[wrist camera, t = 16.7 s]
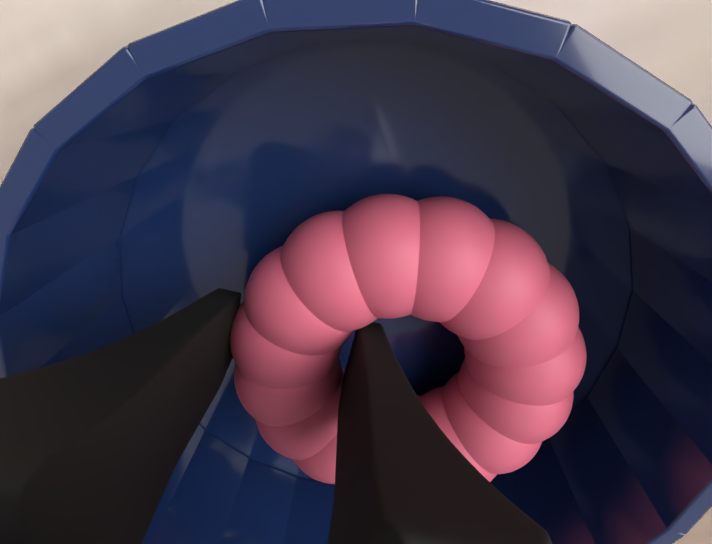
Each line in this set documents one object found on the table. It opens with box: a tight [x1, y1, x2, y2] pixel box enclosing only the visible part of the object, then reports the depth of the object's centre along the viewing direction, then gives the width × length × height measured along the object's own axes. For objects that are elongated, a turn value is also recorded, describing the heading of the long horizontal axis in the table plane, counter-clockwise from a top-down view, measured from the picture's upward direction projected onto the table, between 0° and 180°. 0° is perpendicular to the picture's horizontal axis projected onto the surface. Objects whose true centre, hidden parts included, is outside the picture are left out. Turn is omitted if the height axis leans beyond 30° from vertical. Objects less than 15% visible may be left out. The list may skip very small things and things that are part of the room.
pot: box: [0, 0, 712, 544], centre depth 11 cm, size 16×16×5 cm
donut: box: [230, 194, 587, 484], centre depth 12 cm, size 9×9×3 cm
